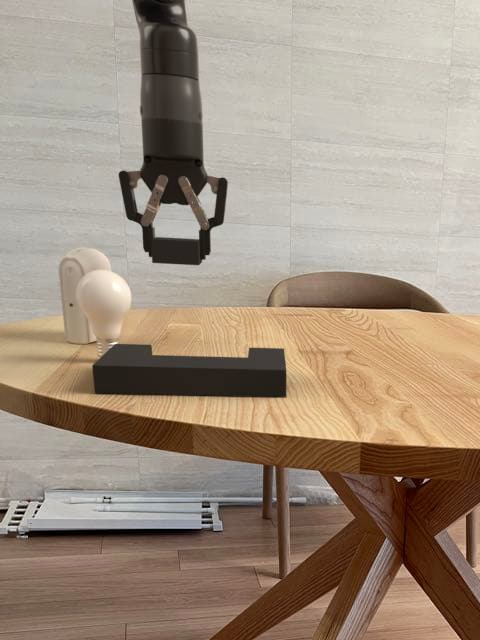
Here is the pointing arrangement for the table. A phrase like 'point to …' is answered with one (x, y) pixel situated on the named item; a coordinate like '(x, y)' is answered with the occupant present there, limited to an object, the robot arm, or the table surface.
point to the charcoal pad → (190, 373)
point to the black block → (175, 251)
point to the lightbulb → (104, 305)
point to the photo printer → (69, 276)
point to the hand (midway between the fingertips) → (177, 257)
